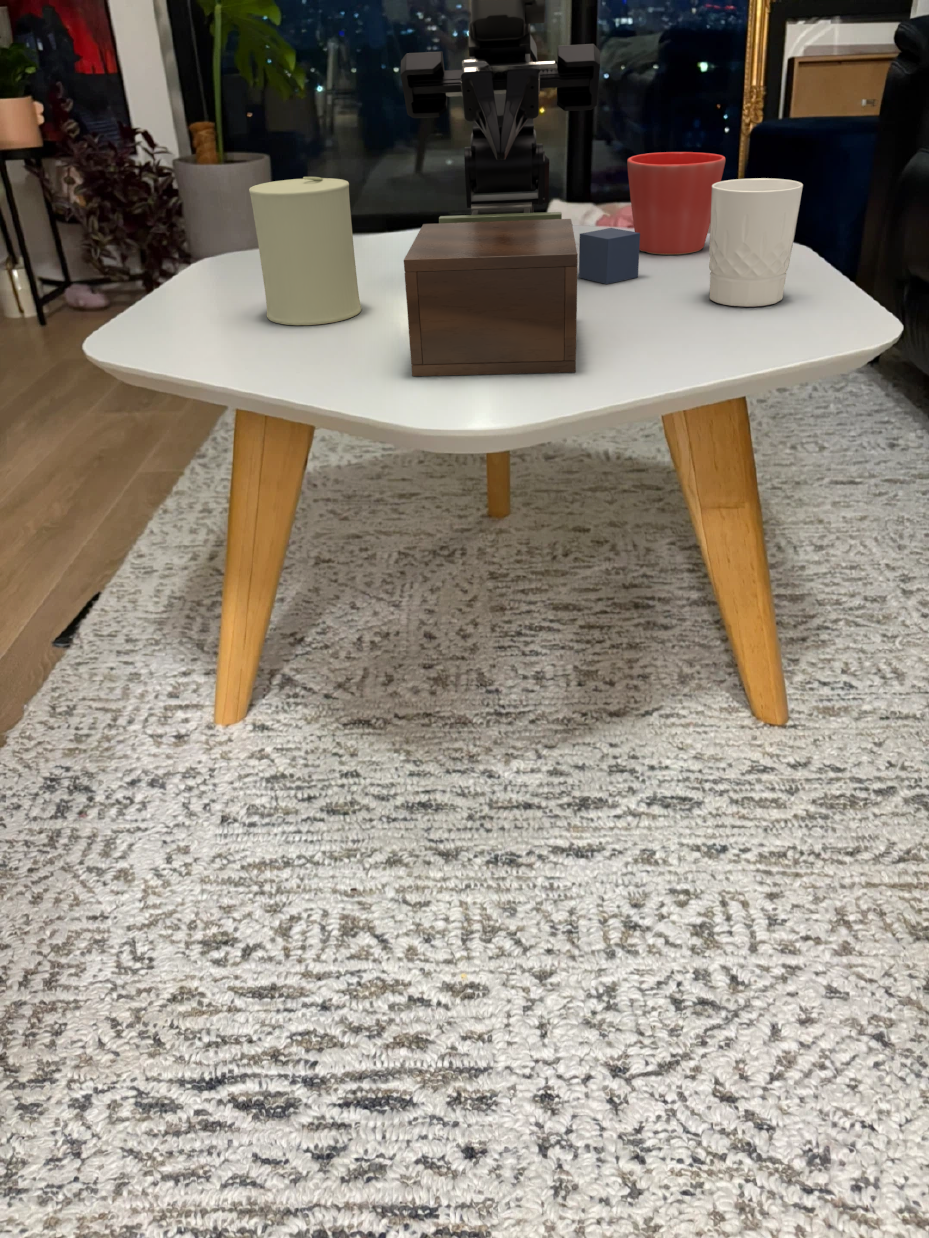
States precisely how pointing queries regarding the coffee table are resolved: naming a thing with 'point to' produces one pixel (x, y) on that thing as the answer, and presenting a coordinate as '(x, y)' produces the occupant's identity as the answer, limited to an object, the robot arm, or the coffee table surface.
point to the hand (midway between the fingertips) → (500, 156)
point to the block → (609, 255)
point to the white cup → (751, 239)
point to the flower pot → (673, 199)
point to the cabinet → (492, 298)
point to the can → (306, 250)
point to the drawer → (500, 213)
